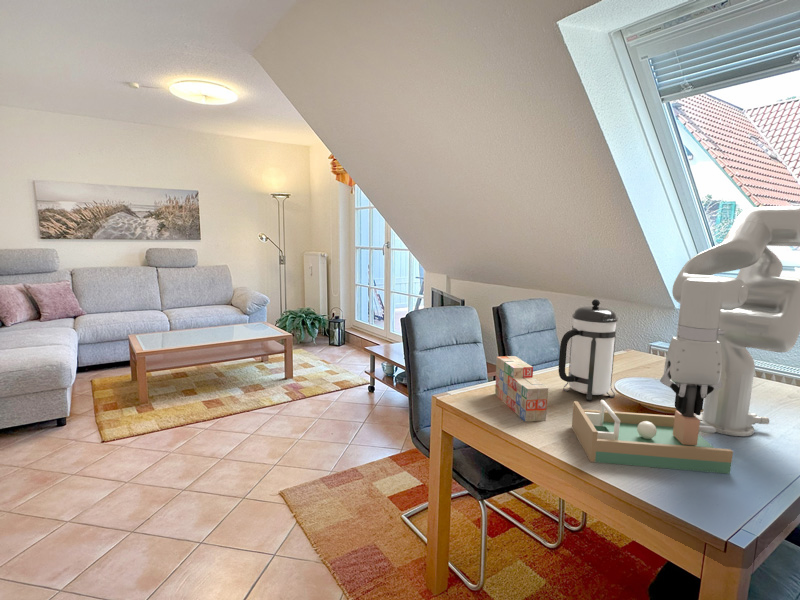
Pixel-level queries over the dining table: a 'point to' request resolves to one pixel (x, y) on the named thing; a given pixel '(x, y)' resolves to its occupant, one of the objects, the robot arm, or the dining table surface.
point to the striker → (689, 420)
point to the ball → (646, 430)
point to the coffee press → (590, 350)
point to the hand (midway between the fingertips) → (687, 411)
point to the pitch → (643, 442)
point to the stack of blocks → (520, 388)
